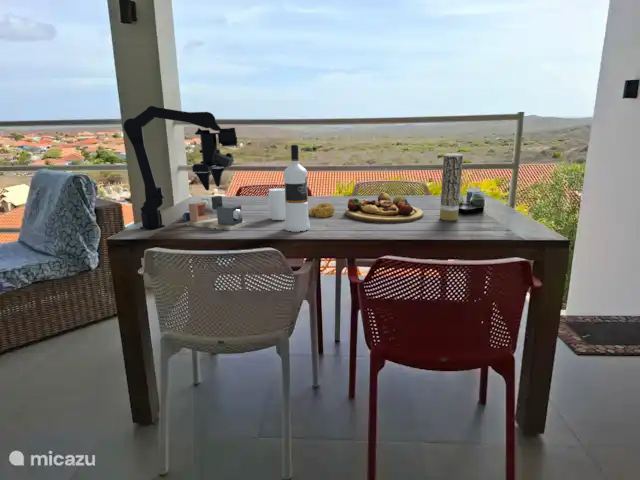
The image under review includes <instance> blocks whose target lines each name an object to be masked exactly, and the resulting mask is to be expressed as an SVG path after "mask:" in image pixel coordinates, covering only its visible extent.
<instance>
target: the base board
mask: <svg viewBox="0 0 640 480" xmlns="http://www.w3.org/2000/svg"><path fill="white" fill-rule="evenodd" d="M247 225H248V221H246V220H242V223H240V224H237V225H234V226H230V225H221V224H218V217H212V216H208V219H205V220H202V221H198V222H194V221H186V226H189V227H199V228H206V227H207V228H206V229H214V228H216V229H215V230H222V229H224V230H223V231H230V230H231V231H234V230H236V229H239V228H242V227H244V226H247ZM233 229H234V230H233Z"/></svg>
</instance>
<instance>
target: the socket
mask: <svg viewBox="0 0 640 480" xmlns="http://www.w3.org/2000/svg"><path fill="white" fill-rule="evenodd" d="M205 207H207V204H206V202H204V201H202V200H199V201H193V202H191V203H188V209H189V213H190V221H194V222H198V221H202V220H205V219H208V217H209V216H206V215H204V208H205Z"/></svg>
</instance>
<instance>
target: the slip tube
mask: <svg viewBox="0 0 640 480" xmlns="http://www.w3.org/2000/svg"><path fill="white" fill-rule="evenodd" d="M210 198H211V202H212V207H205V208H204V215H206V216H208V217H212V218H218V217H217V207H218V206H221V205H223V197H222V195H215V196H214V195H213V196H212V197H211V196H210ZM241 210H242V209H241ZM241 210H239V209H233V217H234V219H241V217H242V218H243V211H241Z"/></svg>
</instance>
